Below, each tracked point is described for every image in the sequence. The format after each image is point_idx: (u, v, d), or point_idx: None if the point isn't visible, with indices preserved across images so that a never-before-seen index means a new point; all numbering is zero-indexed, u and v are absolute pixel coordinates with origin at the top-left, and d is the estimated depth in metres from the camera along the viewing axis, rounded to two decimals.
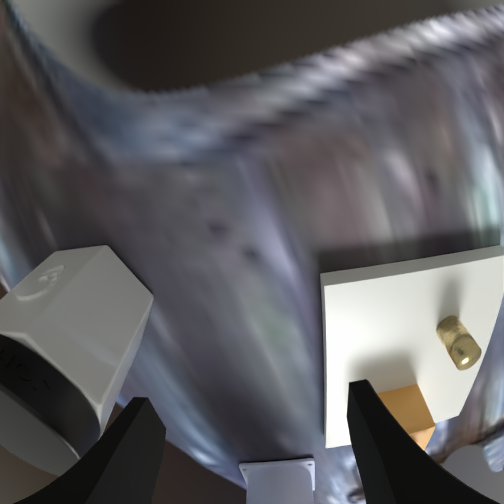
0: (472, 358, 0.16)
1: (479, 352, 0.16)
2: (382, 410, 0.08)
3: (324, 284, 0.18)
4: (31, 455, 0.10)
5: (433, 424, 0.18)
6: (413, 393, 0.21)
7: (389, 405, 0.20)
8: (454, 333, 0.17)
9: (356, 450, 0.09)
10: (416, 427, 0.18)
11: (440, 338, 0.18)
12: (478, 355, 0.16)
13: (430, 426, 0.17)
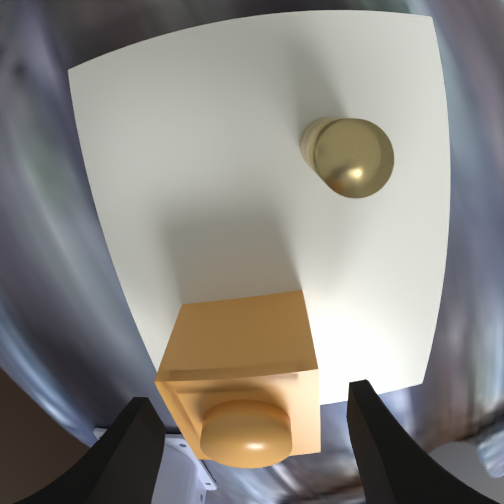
0: (369, 159, 0.07)
1: (384, 144, 0.07)
2: (382, 410, 0.08)
3: (71, 70, 0.09)
4: None
5: (313, 364, 0.09)
6: (287, 304, 0.12)
7: (228, 320, 0.12)
8: (319, 124, 0.09)
9: (356, 450, 0.09)
10: (267, 365, 0.09)
11: (304, 155, 0.10)
12: (385, 154, 0.07)
13: (304, 368, 0.09)
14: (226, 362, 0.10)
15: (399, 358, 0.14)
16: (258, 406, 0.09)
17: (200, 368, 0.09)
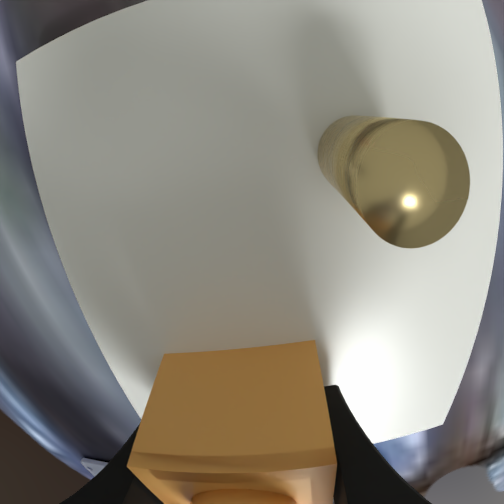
0: (436, 186, 0.04)
1: (458, 164, 0.04)
2: (347, 417, 0.08)
3: (20, 61, 0.06)
4: None
5: (330, 457, 0.06)
6: (296, 361, 0.09)
7: (220, 382, 0.09)
8: (351, 125, 0.06)
9: None
10: (270, 457, 0.06)
11: (325, 170, 0.07)
12: (459, 180, 0.04)
13: (318, 462, 0.06)
14: (216, 448, 0.07)
15: (421, 403, 0.11)
16: (258, 498, 0.06)
17: (183, 453, 0.07)
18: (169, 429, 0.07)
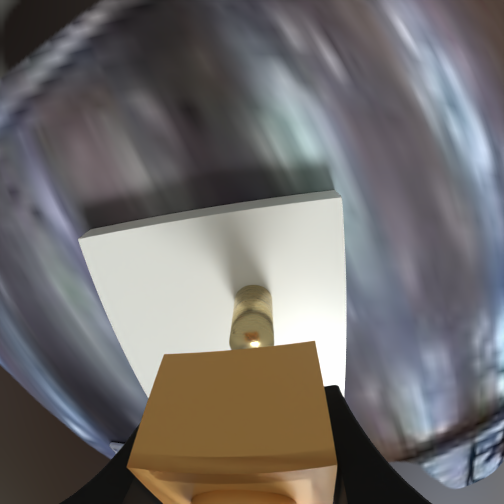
0: (258, 342, 0.14)
1: (267, 335, 0.14)
2: (347, 417, 0.08)
3: (80, 238, 0.16)
4: None
5: (330, 458, 0.06)
6: (296, 362, 0.09)
7: (220, 383, 0.09)
8: (238, 306, 0.15)
9: None
10: (271, 458, 0.06)
11: None
12: (268, 340, 0.14)
13: (318, 463, 0.06)
14: (217, 449, 0.07)
15: None
16: (258, 499, 0.06)
17: (183, 454, 0.06)
18: (169, 430, 0.07)
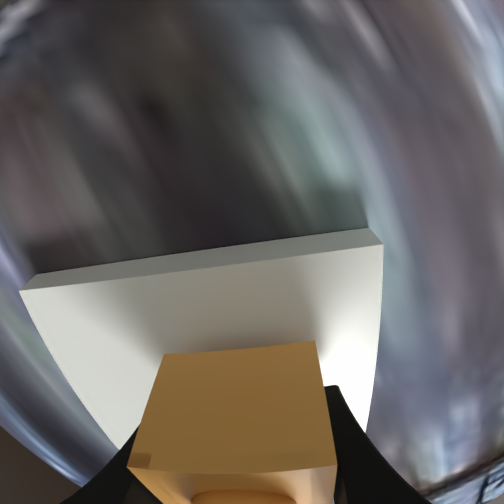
0: None
1: None
2: (347, 417, 0.08)
3: (21, 288, 0.11)
4: None
5: (330, 457, 0.06)
6: (296, 362, 0.09)
7: (220, 383, 0.09)
8: None
9: None
10: (270, 458, 0.06)
11: None
12: None
13: (318, 462, 0.06)
14: (216, 448, 0.07)
15: None
16: (258, 498, 0.06)
17: (183, 454, 0.06)
18: (169, 429, 0.07)
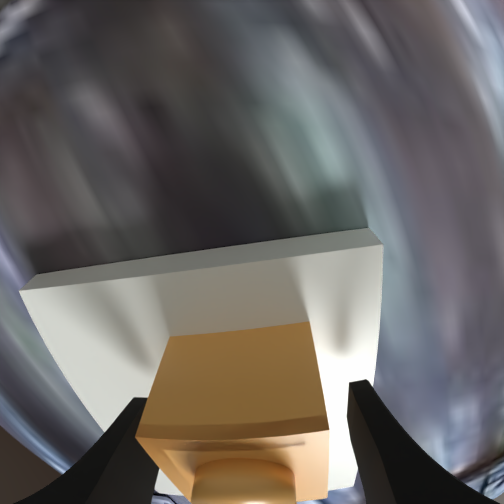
0: None
1: None
2: (382, 410, 0.08)
3: (21, 288, 0.11)
4: None
5: (323, 423, 0.07)
6: (292, 340, 0.10)
7: (222, 360, 0.10)
8: None
9: (356, 450, 0.09)
10: (268, 424, 0.07)
11: None
12: None
13: (312, 428, 0.07)
14: (218, 417, 0.08)
15: (328, 477, 0.16)
16: (257, 466, 0.07)
17: (187, 423, 0.07)
18: (175, 402, 0.08)
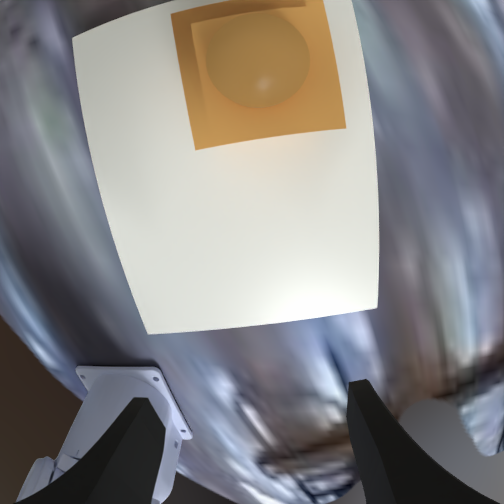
0: None
1: None
2: (382, 410, 0.08)
3: (74, 38, 0.12)
4: None
5: None
6: None
7: None
8: None
9: (356, 450, 0.09)
10: None
11: None
12: None
13: None
14: None
15: (347, 274, 0.17)
16: None
17: None
18: None
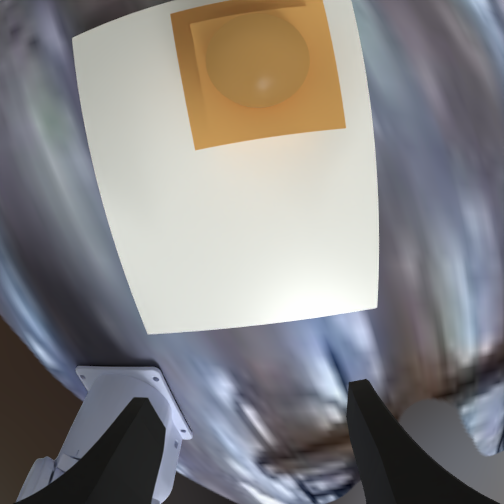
0: None
1: None
2: (382, 410, 0.08)
3: (74, 38, 0.12)
4: None
5: None
6: None
7: None
8: None
9: (356, 450, 0.09)
10: None
11: None
12: None
13: None
14: None
15: (347, 274, 0.17)
16: None
17: None
18: None
